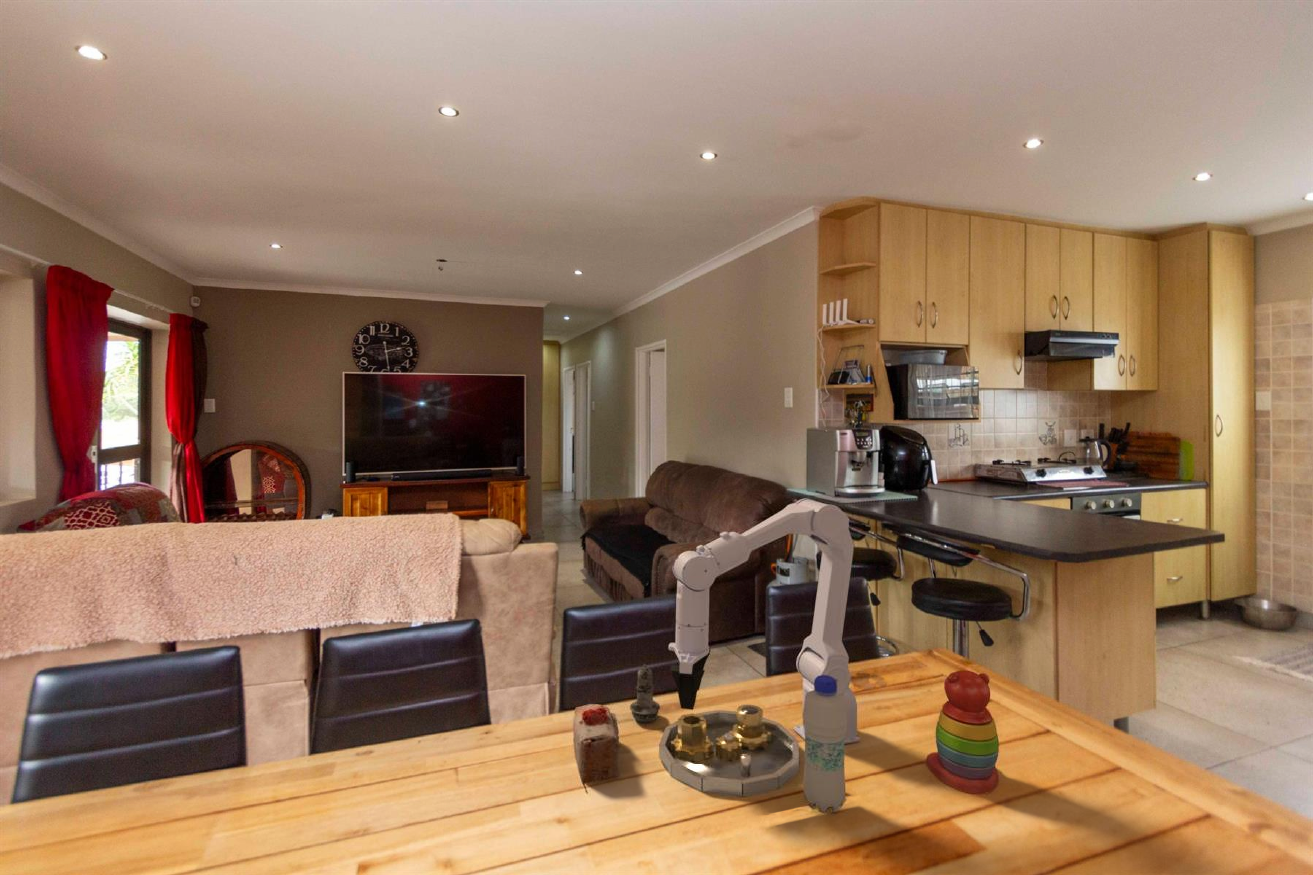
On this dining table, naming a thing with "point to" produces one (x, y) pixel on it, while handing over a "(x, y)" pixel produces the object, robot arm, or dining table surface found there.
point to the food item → (596, 743)
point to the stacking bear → (966, 736)
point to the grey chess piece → (644, 698)
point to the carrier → (736, 754)
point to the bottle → (824, 745)
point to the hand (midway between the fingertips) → (690, 698)
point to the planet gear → (692, 738)
